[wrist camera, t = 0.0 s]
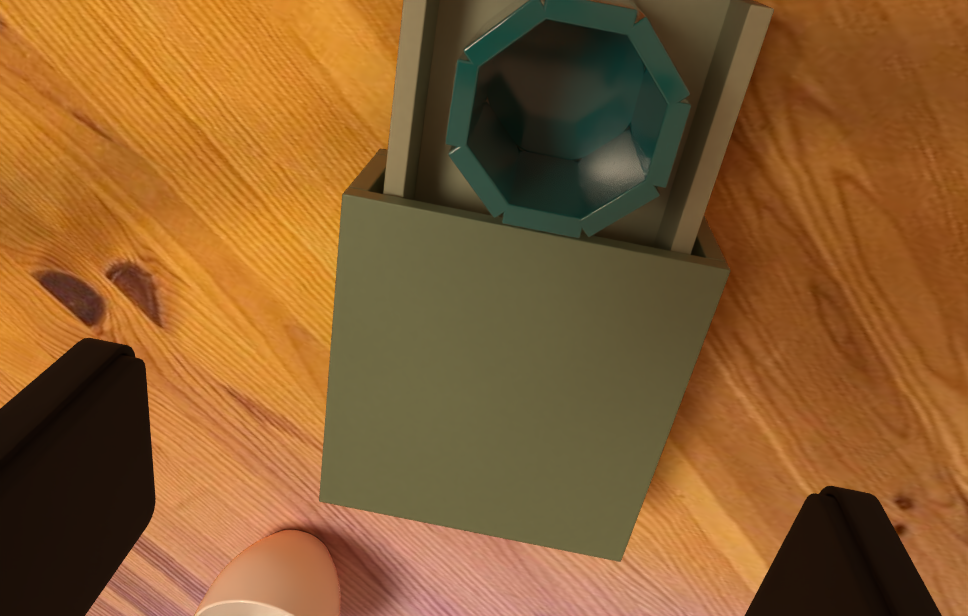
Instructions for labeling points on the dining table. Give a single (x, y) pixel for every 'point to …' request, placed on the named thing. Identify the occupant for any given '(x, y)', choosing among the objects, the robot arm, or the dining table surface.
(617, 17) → the green octagonal cup
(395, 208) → the cabinet
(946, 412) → the dining table surface
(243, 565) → the cup
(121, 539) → the robot arm
